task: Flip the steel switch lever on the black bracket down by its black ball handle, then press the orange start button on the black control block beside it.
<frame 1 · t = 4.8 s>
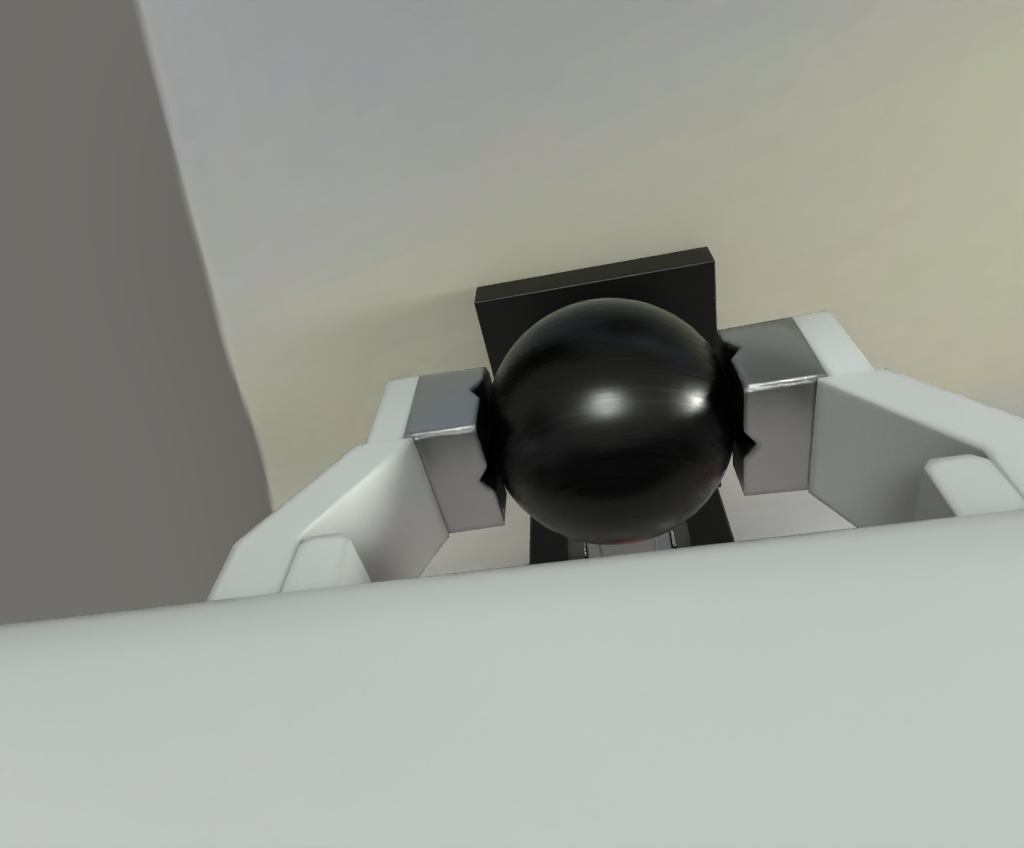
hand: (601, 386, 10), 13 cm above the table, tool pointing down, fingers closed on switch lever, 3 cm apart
switch bracket: (606, 385, 26), on the table
switch lever: (625, 531, 14), point 12 cm above the table, hinge at 25.1°, touching gripper
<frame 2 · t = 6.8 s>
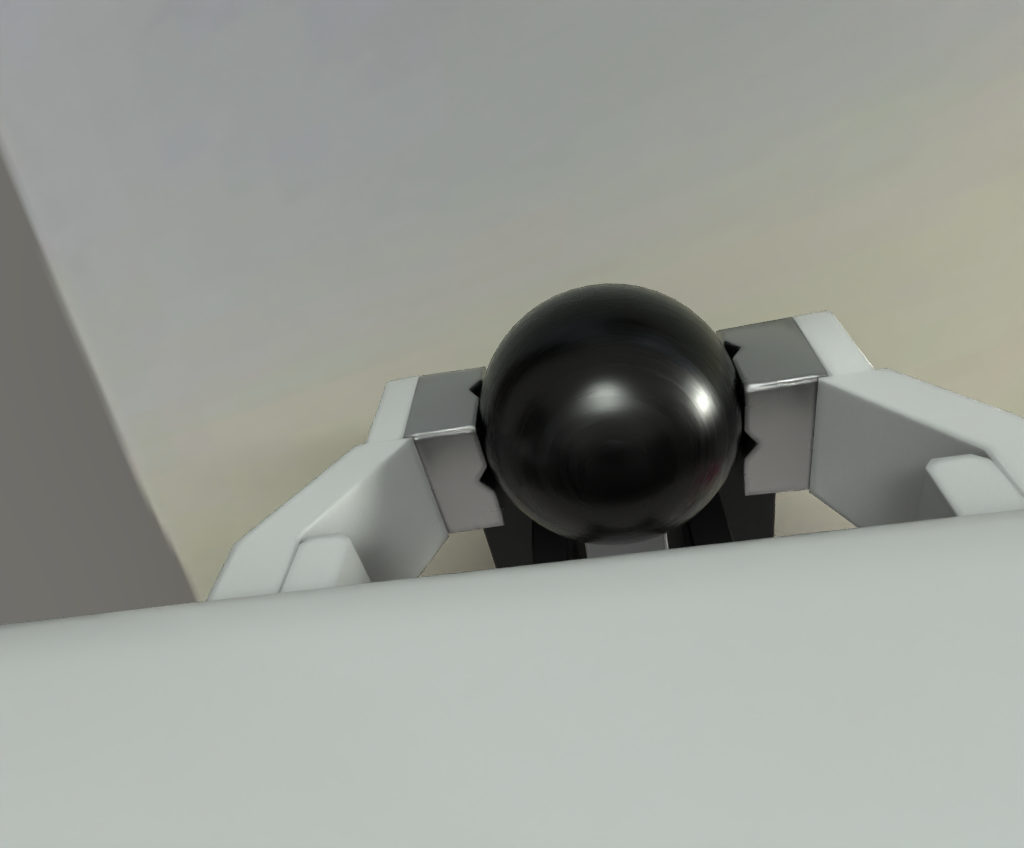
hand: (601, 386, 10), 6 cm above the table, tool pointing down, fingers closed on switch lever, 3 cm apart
switch bracket: (626, 522, 20), on the table
switch lever: (649, 699, 11), point 9 cm above the table, hinge at -15.9°, touching gripper
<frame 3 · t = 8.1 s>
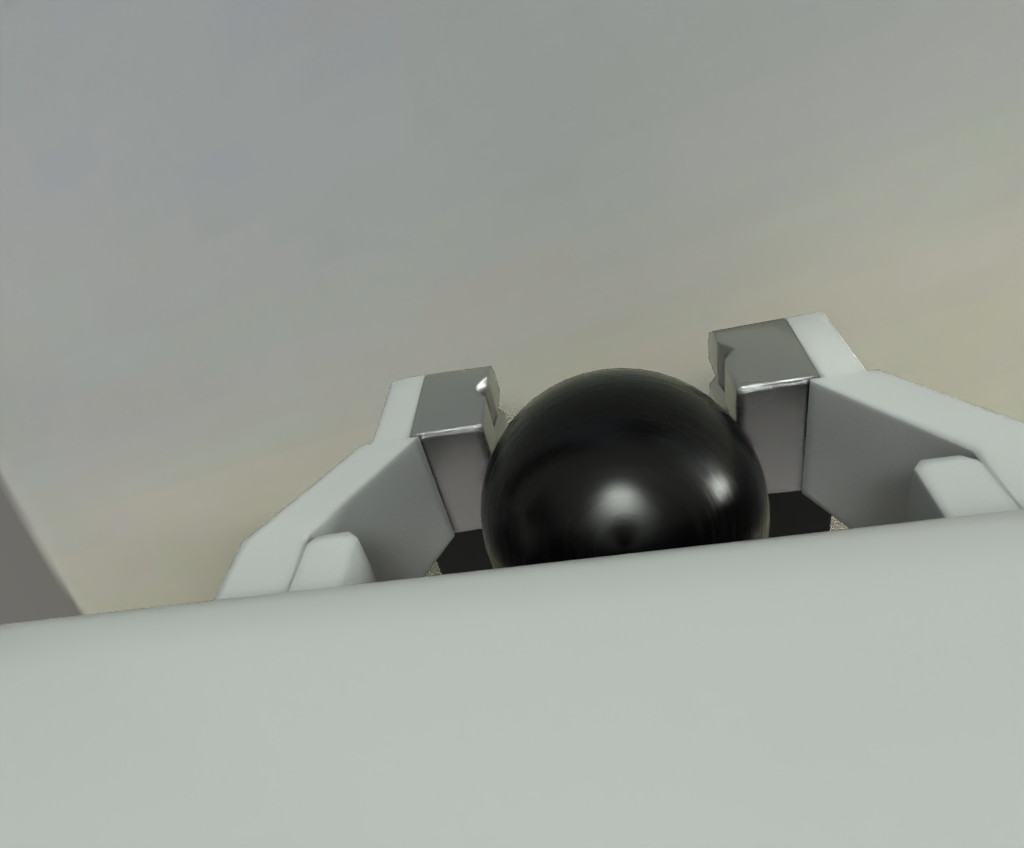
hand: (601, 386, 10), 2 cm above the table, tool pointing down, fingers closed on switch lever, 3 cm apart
switch bracket: (635, 614, 17), on the table
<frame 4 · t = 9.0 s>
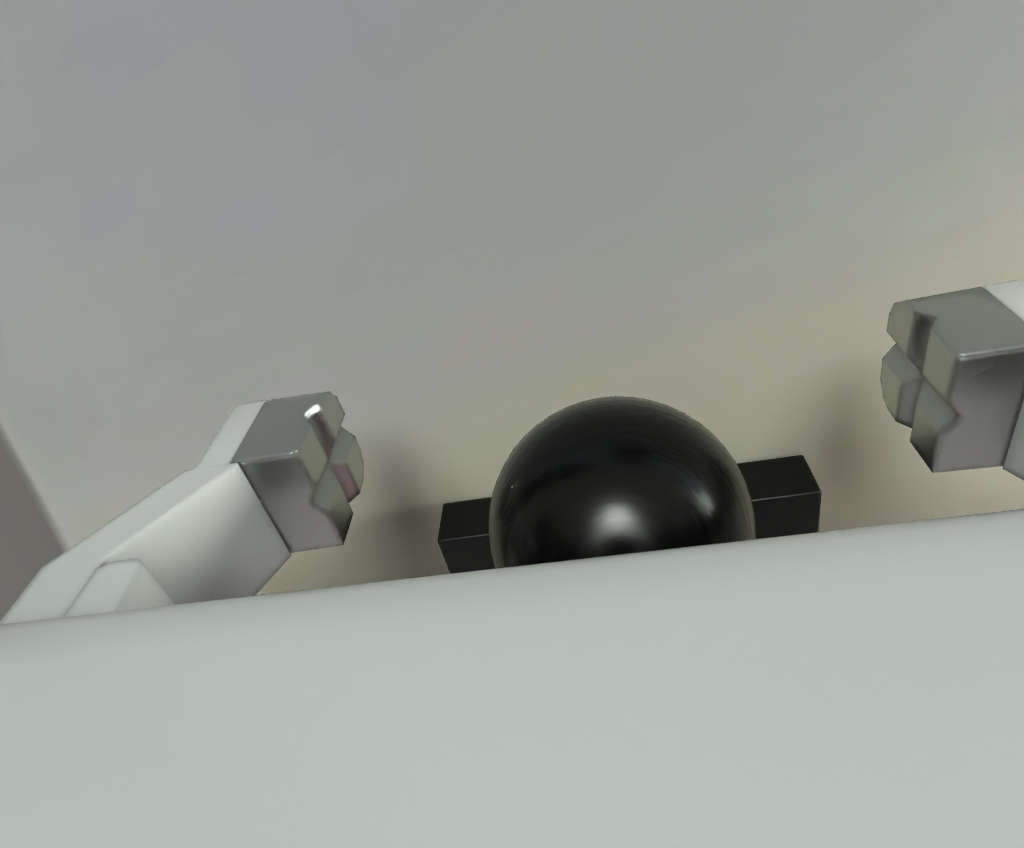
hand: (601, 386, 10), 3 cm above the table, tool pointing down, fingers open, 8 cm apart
switch bracket: (638, 618, 18), on the table
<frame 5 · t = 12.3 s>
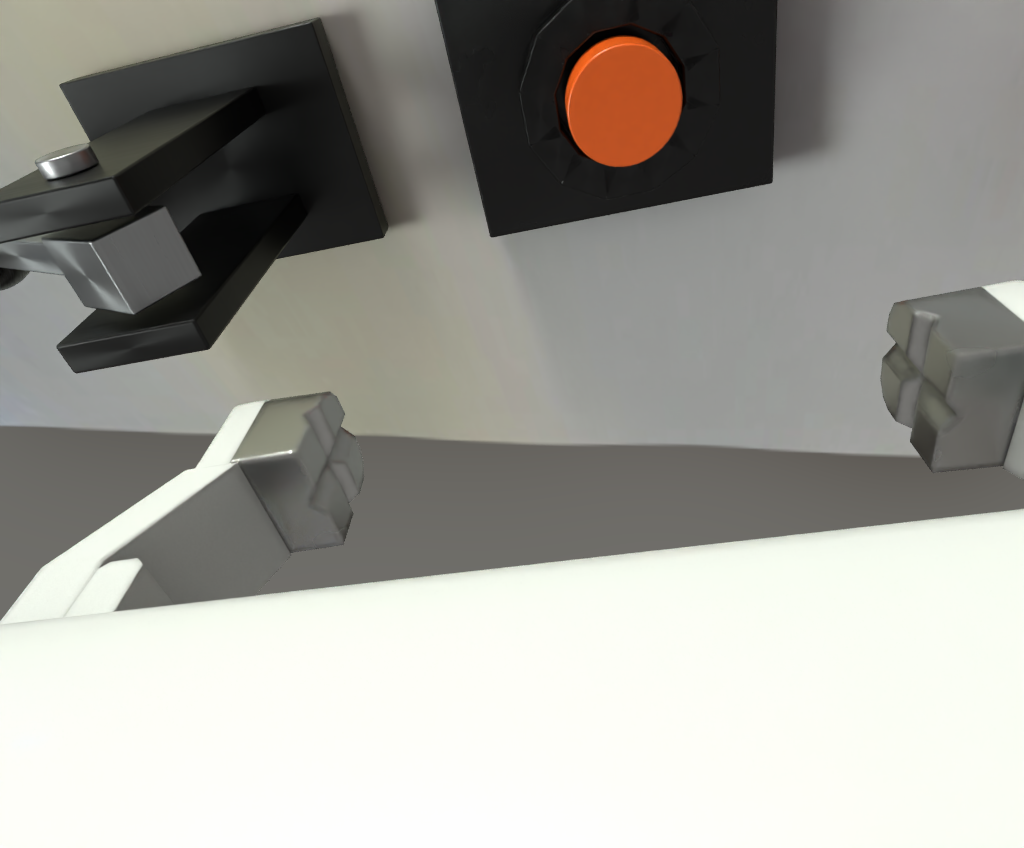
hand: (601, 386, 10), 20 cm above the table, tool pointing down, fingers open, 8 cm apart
start button: (621, 102, 22), point 4 cm above the table, slide at 0.1 cm
button block: (608, 75, 25), on the table
switch bracket: (241, 157, 27), on the table
switch lever: (40, 250, 22), point 7 cm above the table, hinge at -30.2°
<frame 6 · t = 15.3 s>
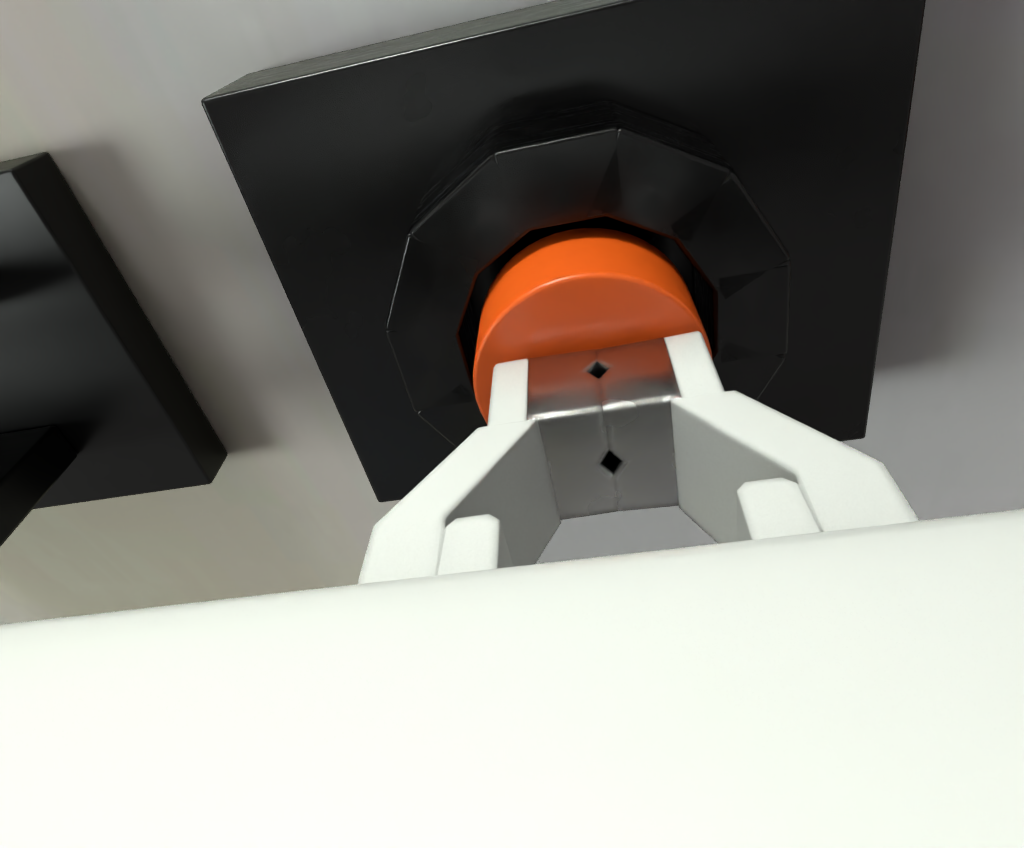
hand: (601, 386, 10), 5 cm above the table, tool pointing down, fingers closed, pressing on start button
start button: (588, 355, 11), point 4 cm above the table, slide at 0.0 cm, touching gripper
button block: (575, 248, 14), on the table
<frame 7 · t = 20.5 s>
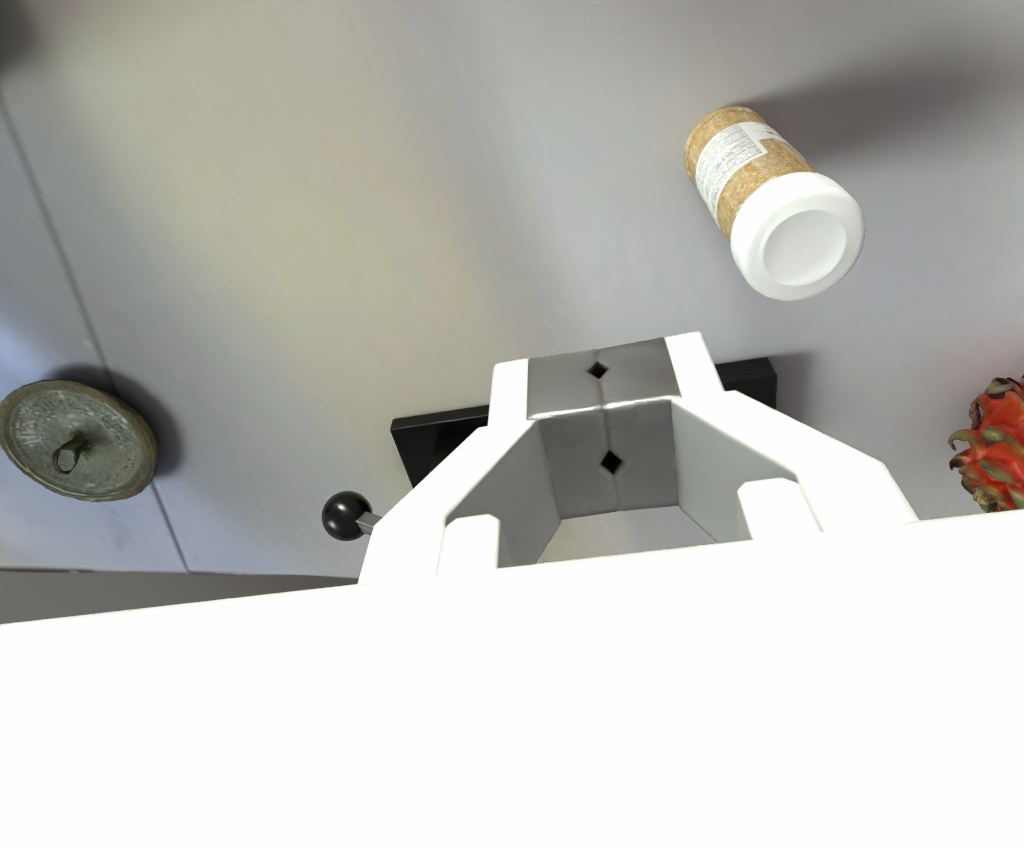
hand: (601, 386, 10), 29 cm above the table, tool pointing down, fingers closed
button block: (684, 423, 47), on the table
switch bracket: (474, 452, 49), on the table
sprinkles bottle: (723, 148, 36), on the table
lid: (92, 428, 49), on the table
switch lever: (399, 534, 44), point 7 cm above the table, hinge at -30.2°
dragon fruit: (1004, 401, 45), on the table
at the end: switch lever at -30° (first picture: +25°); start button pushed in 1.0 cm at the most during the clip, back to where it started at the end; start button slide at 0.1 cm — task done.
